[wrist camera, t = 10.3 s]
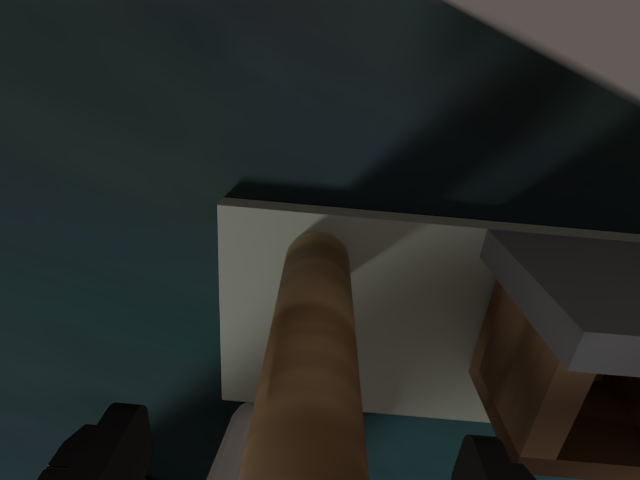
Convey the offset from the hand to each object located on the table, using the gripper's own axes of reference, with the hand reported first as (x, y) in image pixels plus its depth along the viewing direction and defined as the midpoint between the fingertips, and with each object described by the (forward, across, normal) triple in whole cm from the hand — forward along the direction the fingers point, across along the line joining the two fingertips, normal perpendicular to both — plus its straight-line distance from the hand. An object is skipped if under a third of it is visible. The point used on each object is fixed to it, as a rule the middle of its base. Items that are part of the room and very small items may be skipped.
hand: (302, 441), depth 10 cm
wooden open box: (+11, -13, +3) cm, 17 cm away
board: (+12, -6, +4) cm, 14 cm away
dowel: (+11, 0, 0) cm, 11 cm away
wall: (+11, -13, -1) cm, 17 cm away
